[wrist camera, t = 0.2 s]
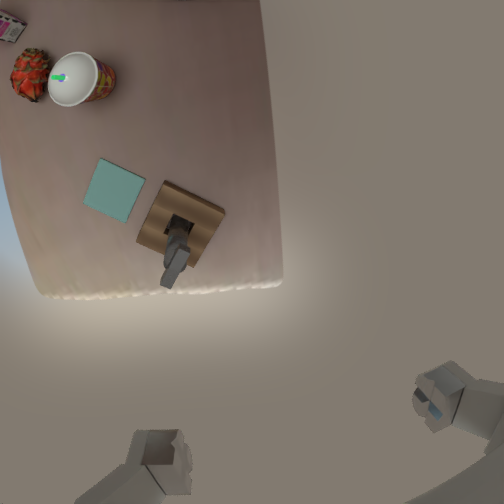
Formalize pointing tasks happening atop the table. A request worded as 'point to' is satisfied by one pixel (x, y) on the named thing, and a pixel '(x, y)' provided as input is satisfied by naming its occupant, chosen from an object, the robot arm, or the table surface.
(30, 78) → the dragon fruit
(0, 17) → the candy bar box
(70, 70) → the smoothie
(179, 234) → the gunmetal T-key
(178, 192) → the walnut key-slot block
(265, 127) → the table surface
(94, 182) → the teal rubber mat
